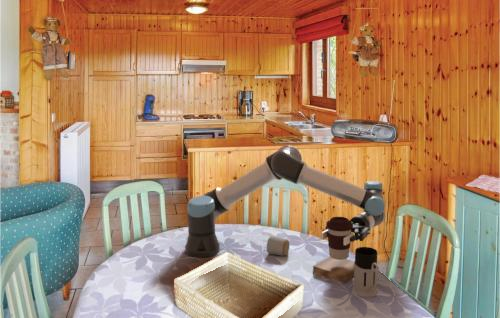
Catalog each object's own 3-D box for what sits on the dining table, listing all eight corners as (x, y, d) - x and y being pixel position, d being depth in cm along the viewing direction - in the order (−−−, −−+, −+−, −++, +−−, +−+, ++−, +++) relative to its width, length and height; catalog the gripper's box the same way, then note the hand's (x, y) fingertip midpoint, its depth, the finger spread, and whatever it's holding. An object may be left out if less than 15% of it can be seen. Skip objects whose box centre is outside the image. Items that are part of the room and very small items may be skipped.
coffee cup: (335, 263, 163) (336, 225, 160) (321, 254, 172) (321, 217, 169) (357, 258, 167) (358, 221, 164) (342, 249, 176) (342, 213, 173)
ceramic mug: (284, 258, 184) (284, 241, 183) (266, 255, 187) (266, 238, 186) (292, 250, 193) (293, 233, 192) (275, 247, 197) (275, 231, 196)
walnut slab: (313, 273, 170) (313, 266, 170) (331, 261, 180) (332, 254, 180) (345, 283, 161) (345, 276, 160) (363, 271, 171) (363, 263, 171)
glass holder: (371, 284, 161) (372, 245, 158) (389, 303, 147) (391, 261, 144) (348, 286, 159) (349, 247, 157) (364, 305, 145) (365, 263, 143)
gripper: (386, 237, 175) (359, 255, 158) (338, 226, 189) (309, 241, 172) (386, 219, 173) (359, 235, 157) (338, 209, 188) (309, 223, 171)
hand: (333, 238), depth 165 cm, fingers closed on coffee cup, 9 cm apart
